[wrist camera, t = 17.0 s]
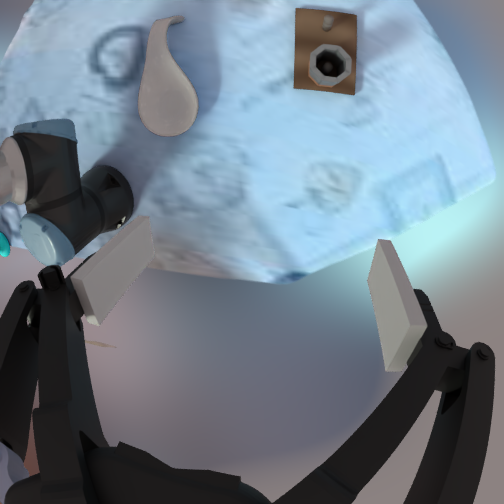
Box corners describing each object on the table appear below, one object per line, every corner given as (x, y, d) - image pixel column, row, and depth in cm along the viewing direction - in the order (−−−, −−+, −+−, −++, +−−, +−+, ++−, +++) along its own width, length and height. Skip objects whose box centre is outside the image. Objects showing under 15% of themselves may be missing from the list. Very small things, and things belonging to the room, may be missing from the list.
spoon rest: (206, 132, 49) (192, 137, 43) (150, 136, 51) (131, 143, 44) (202, 13, 37) (187, 3, 31) (145, 26, 39) (125, 20, 33)
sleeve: (341, 88, 39) (351, 85, 30) (307, 84, 40) (308, 80, 31) (342, 58, 36) (352, 47, 27) (309, 54, 37) (309, 41, 28)
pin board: (353, 95, 41) (362, 94, 34) (293, 88, 42) (291, 86, 35) (355, 17, 33) (363, 3, 26) (295, 10, 34) (293, -5, 27)
